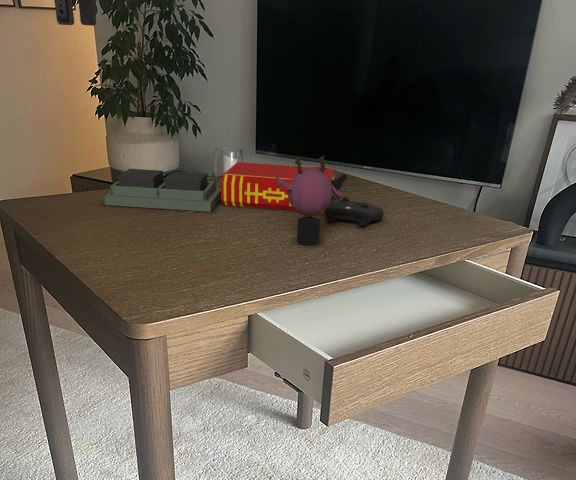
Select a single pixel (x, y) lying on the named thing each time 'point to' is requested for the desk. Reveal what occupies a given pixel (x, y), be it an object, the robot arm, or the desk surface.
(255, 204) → the book
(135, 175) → the pad
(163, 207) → the divided tray
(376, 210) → the game controller
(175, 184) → the pad
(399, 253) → the desk surface
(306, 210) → the figurine
